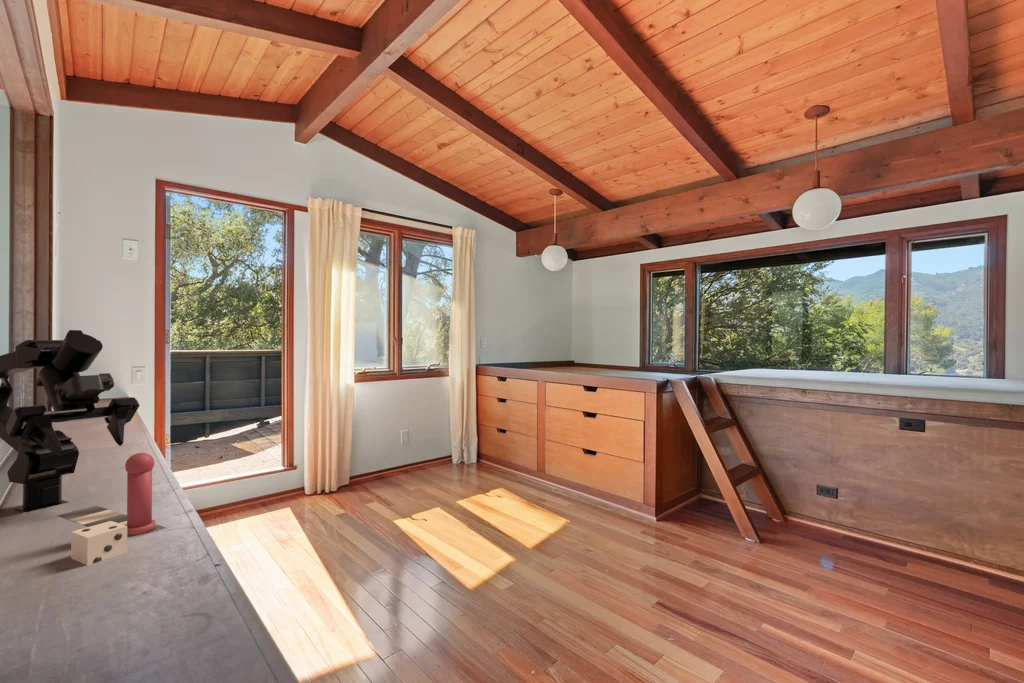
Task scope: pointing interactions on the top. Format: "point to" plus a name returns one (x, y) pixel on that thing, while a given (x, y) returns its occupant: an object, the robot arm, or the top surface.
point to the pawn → (139, 494)
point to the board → (100, 518)
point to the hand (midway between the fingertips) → (92, 449)
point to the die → (98, 542)
